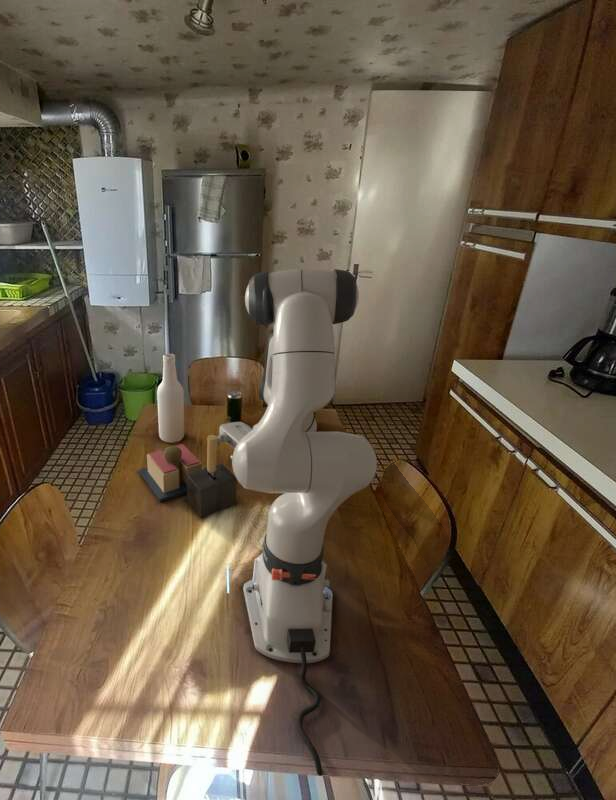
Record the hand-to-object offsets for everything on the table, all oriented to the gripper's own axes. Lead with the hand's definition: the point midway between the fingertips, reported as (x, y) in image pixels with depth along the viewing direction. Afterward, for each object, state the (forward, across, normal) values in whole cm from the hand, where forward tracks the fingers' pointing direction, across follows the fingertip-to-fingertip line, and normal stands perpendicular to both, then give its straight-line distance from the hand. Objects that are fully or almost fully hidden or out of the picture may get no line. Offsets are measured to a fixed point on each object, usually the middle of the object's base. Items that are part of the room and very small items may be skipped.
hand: (222, 451), depth 114 cm
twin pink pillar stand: (+7, -15, +16) cm, 23 cm away
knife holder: (+3, 0, +16) cm, 16 cm away
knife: (+3, 0, +16) cm, 16 cm away
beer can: (-27, -36, +16) cm, 48 cm away
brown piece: (+8, -14, +16) cm, 23 cm away
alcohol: (-2, -38, +16) cm, 41 cm away
